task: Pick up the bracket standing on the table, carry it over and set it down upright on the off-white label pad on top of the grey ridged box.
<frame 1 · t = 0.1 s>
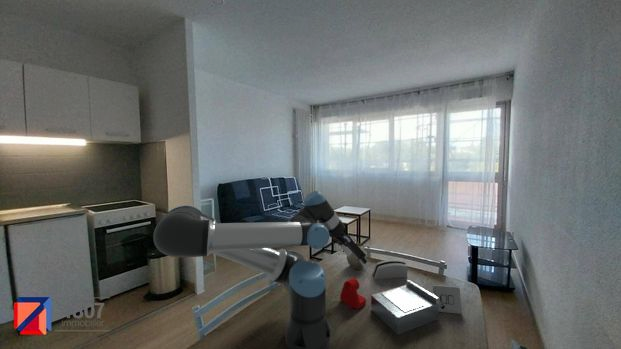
hand: (358, 260, 98), 15 cm above the table, tool tilted 35°, fingers open, 13 cm apart
bracket: (353, 302, 94), on the table
fruit: (357, 267, 125), on the table
grey curved slab: (390, 277, 114), on the table
grey ridged box: (403, 314, 87), on the table
electrical switch: (445, 309, 89), on the table
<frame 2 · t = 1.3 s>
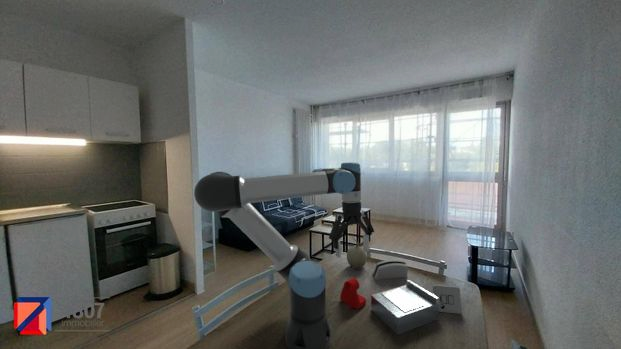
hand: (352, 253, 93), 21 cm above the table, tool pointing down, fingers open, 13 cm apart
nothing on the table moved.
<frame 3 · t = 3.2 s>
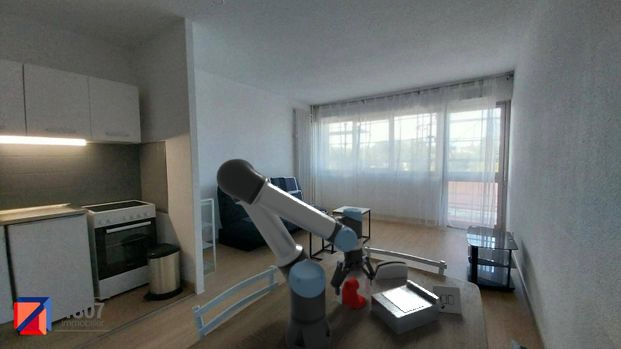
hand: (354, 297, 94), 2 cm above the table, tool pointing down, fingers open, 13 cm apart
nothing on the table moved.
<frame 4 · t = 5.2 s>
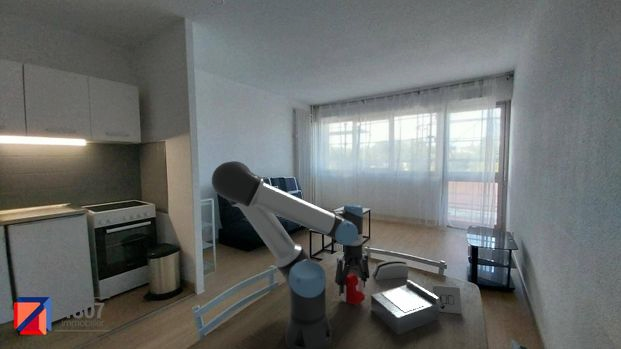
hand: (352, 297, 94), 2 cm above the table, tool pointing down, fingers closed on bracket, 8 cm apart
bracket: (352, 298, 94), point 1 cm above the table, touching gripper
everything else where it was.
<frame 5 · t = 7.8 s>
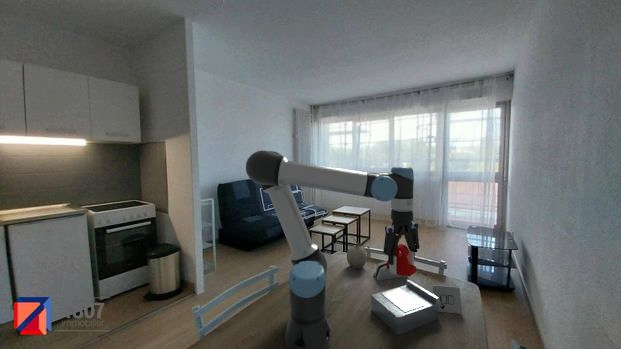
hand: (401, 270, 85), 17 cm above the table, tool pointing down, fingers closed on bracket, 8 cm apart
bracket: (401, 271, 85), point 17 cm above the table, touching gripper
everything else where it was.
when the fingers open (7 cm above the table, at t = 10.4 s): bracket stays where it is, resting on grey ridged box.
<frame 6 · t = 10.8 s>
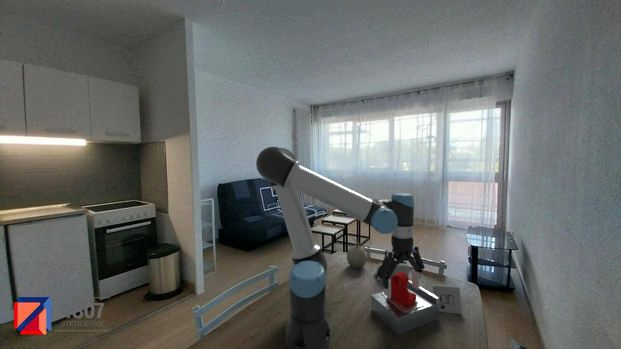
hand: (401, 291, 86), 9 cm above the table, tool pointing down, fingers open, 13 cm apart
bracket: (401, 299, 86), point 6 cm above the table, touching grey ridged box
everything else where it was.
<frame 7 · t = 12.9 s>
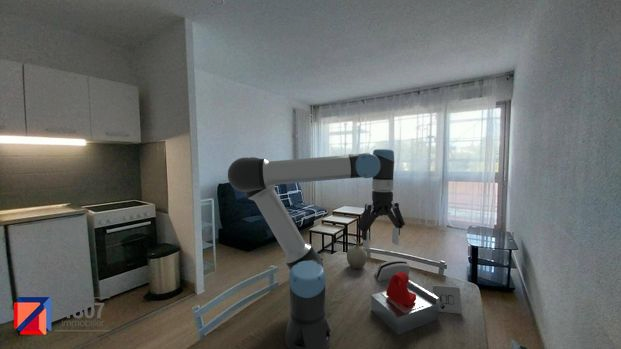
hand: (381, 245, 88), 25 cm above the table, tool pointing down, fingers open, 13 cm apart
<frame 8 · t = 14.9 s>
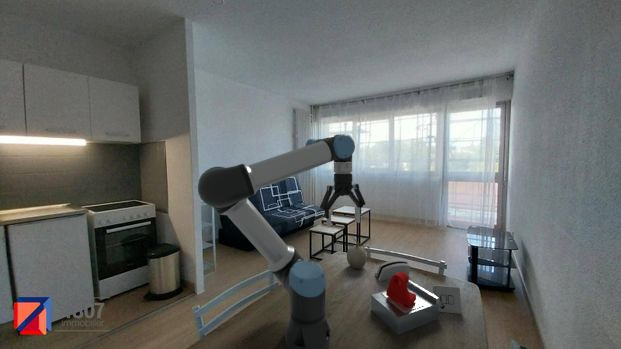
hand: (343, 224, 95), 32 cm above the table, tool pointing down, fingers open, 13 cm apart
at the end: bracket inside the target area on the grey ridged box (0.1 cm from its centre), point 6.1 cm above the grey ridged box's base; bracket tilted 0°; the gripper is holding nothing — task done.
